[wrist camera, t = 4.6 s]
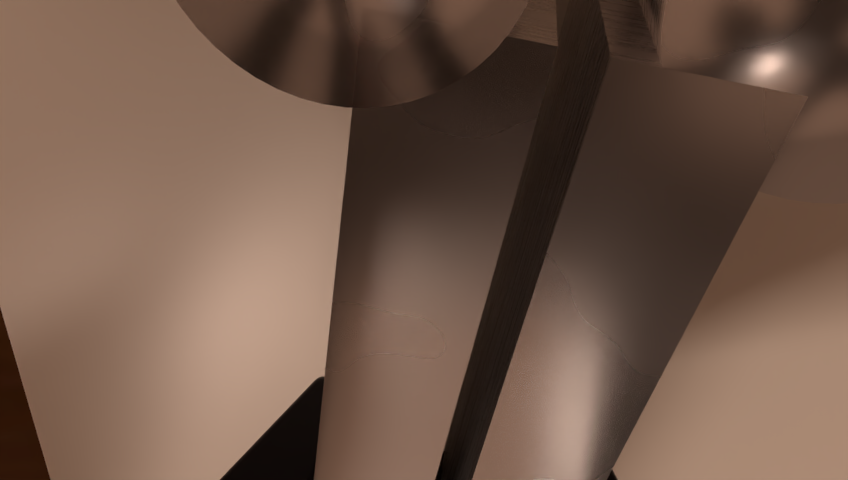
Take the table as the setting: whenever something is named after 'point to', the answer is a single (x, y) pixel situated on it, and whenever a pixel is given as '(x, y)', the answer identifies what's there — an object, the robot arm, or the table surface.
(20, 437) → the table surface
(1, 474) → the table surface
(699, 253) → the tongs fixed arm
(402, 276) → the tongs moving arm
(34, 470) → the table surface
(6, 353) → the table surface
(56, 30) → the cutting board
